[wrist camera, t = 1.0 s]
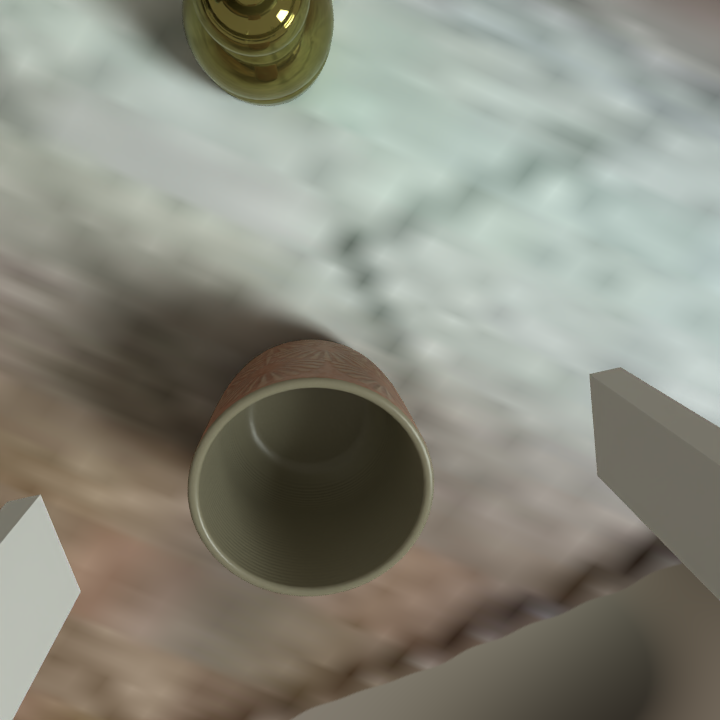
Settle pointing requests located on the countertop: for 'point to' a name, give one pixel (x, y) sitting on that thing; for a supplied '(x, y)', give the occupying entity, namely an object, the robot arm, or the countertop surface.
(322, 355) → the planter
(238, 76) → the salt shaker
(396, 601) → the countertop surface
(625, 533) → the countertop surface
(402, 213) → the countertop surface
